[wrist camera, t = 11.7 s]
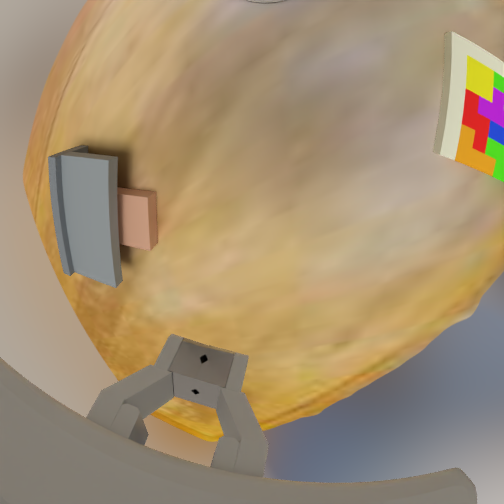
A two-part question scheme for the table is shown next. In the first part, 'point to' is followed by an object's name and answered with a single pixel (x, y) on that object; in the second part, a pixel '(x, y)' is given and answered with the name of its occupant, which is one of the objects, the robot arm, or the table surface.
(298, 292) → the table surface
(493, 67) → the puzzle game
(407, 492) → the robot arm
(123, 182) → the table surface
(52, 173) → the grey block
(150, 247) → the tile
